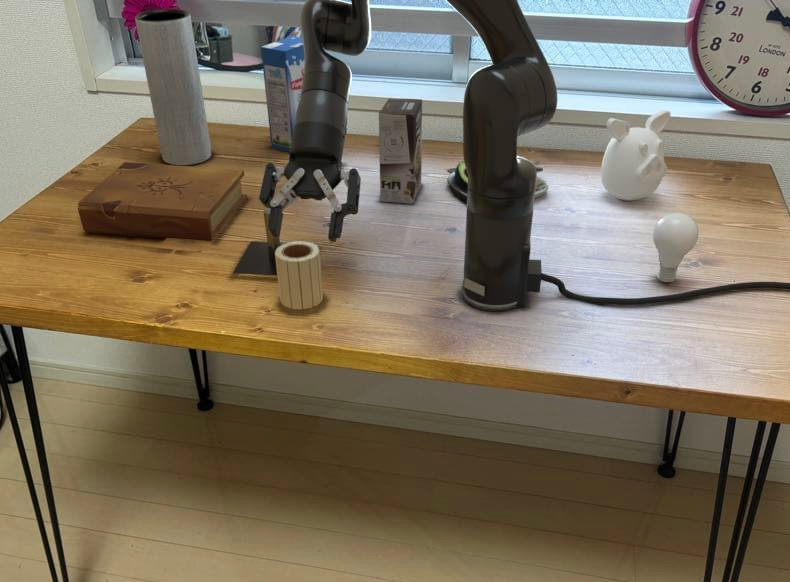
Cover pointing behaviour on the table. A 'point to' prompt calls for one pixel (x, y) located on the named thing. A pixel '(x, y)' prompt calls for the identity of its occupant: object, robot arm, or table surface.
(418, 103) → the coffee box
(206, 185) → the diary
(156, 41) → the vase
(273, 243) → the stand
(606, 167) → the piggy bank
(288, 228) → the table surface
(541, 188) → the salad plate
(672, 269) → the lightbulb
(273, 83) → the milk carton
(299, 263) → the wooden cup
